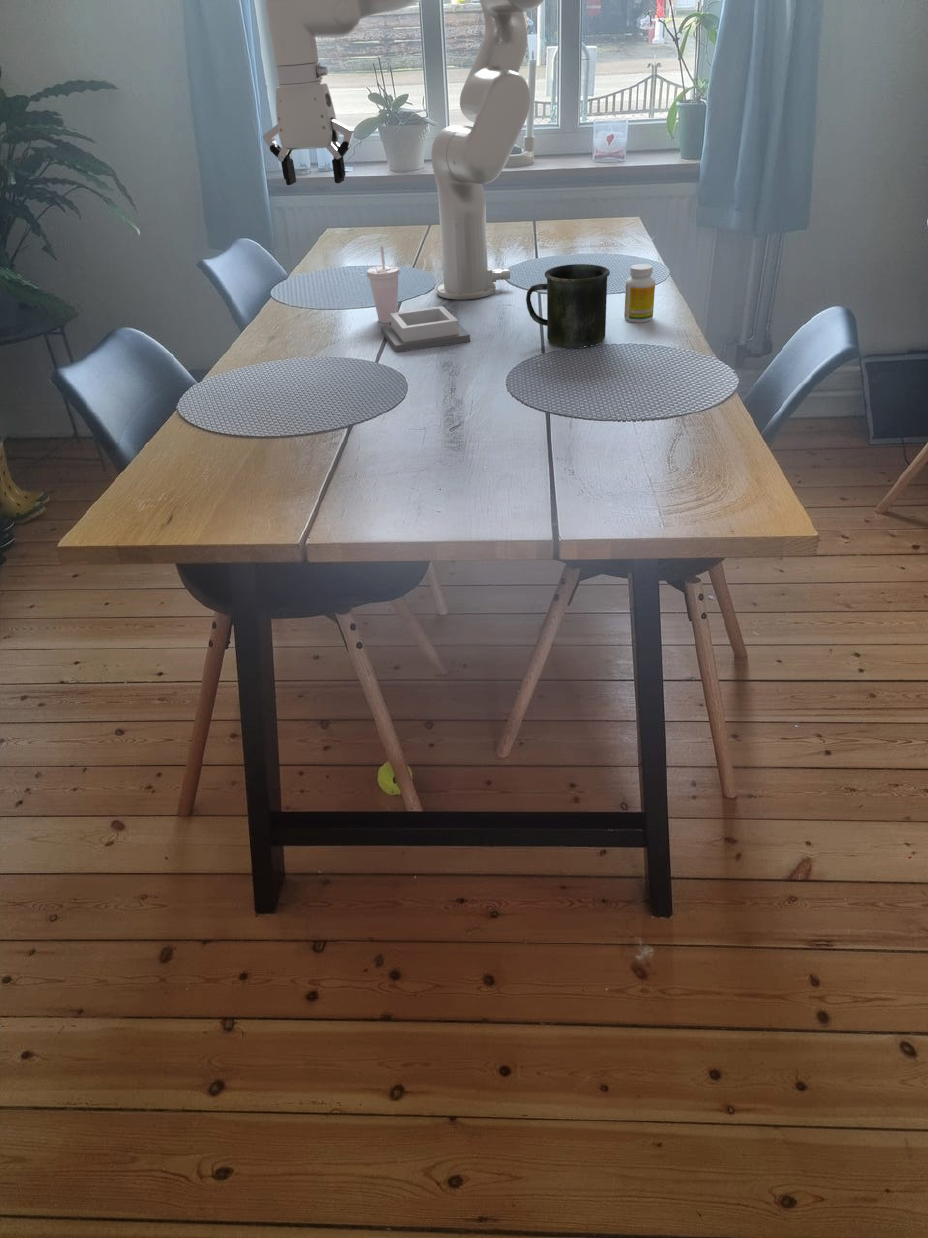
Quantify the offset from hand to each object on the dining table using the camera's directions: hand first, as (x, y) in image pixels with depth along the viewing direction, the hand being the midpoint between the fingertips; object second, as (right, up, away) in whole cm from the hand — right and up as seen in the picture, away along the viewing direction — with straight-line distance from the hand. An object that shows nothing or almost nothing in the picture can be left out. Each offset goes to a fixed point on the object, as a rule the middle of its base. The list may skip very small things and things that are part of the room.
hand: (315, 182), depth 168 cm
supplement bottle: (+61, -24, +4) cm, 66 cm away
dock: (+20, -28, +2) cm, 35 cm away
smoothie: (+12, -22, +13) cm, 28 cm away
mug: (+46, -31, -4) cm, 56 cm away
